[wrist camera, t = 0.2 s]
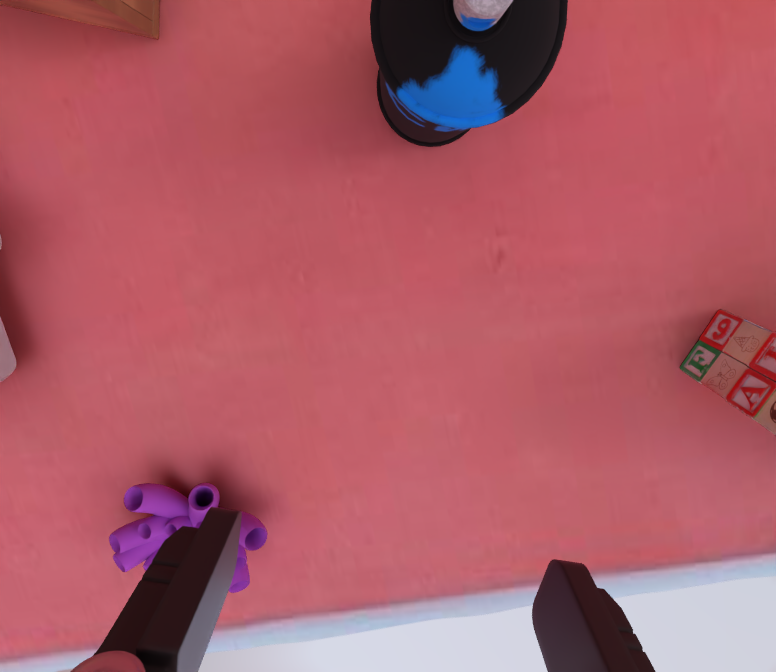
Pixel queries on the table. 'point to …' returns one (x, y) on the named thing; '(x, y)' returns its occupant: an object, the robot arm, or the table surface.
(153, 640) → the robot arm
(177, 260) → the table surface
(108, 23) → the cabinet
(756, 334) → the stack of blocks
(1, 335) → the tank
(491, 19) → the aerosol can
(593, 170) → the table surface
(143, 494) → the pipe connector assembly
